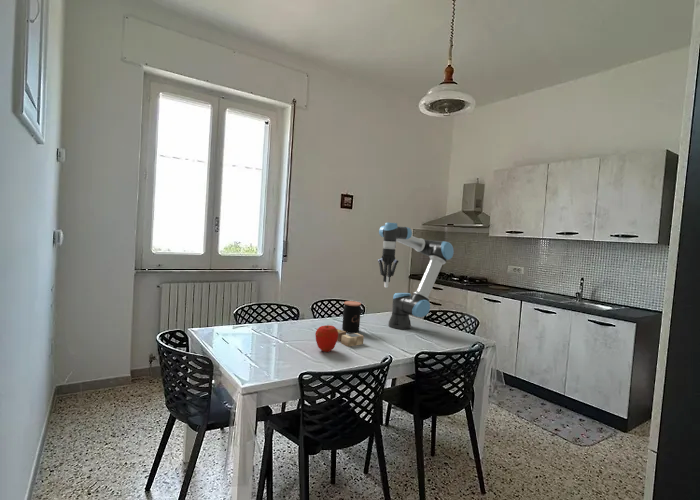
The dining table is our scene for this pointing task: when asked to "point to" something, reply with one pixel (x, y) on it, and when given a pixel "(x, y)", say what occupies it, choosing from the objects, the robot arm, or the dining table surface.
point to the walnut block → (340, 334)
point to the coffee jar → (351, 316)
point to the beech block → (352, 339)
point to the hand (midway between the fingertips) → (386, 287)
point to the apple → (326, 337)
